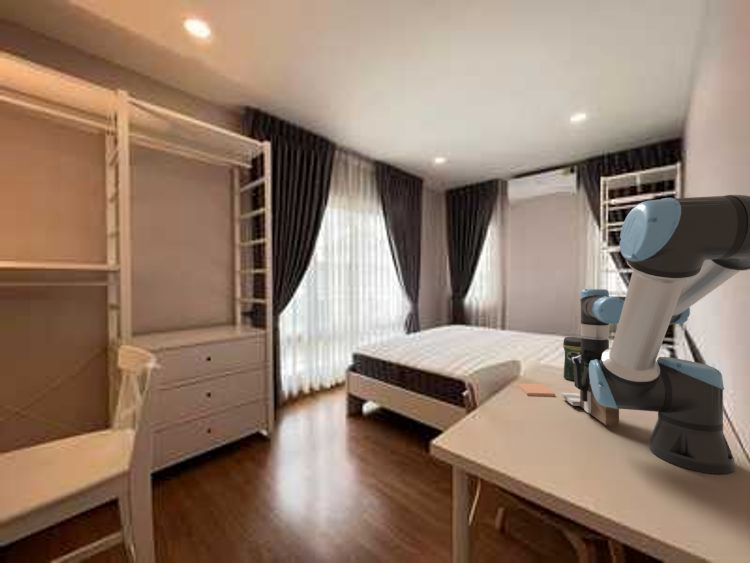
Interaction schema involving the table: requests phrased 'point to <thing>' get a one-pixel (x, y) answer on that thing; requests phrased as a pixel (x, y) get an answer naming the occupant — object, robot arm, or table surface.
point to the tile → (535, 389)
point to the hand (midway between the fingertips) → (594, 411)
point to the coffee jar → (571, 350)
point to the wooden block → (595, 408)
